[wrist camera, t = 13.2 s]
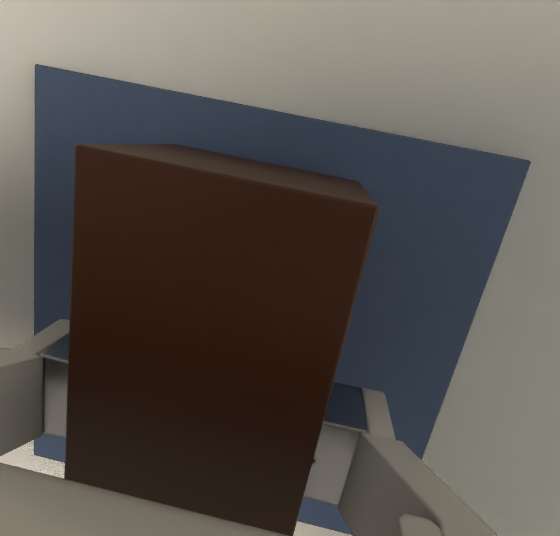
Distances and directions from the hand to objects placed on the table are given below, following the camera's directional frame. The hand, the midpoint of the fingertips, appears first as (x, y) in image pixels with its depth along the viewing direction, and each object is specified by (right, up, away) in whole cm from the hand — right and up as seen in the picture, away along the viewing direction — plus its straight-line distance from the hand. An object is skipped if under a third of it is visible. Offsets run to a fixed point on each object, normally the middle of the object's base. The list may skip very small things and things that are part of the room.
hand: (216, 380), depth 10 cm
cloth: (0, +1, +2) cm, 2 cm away
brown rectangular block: (0, 0, +2) cm, 2 cm away
